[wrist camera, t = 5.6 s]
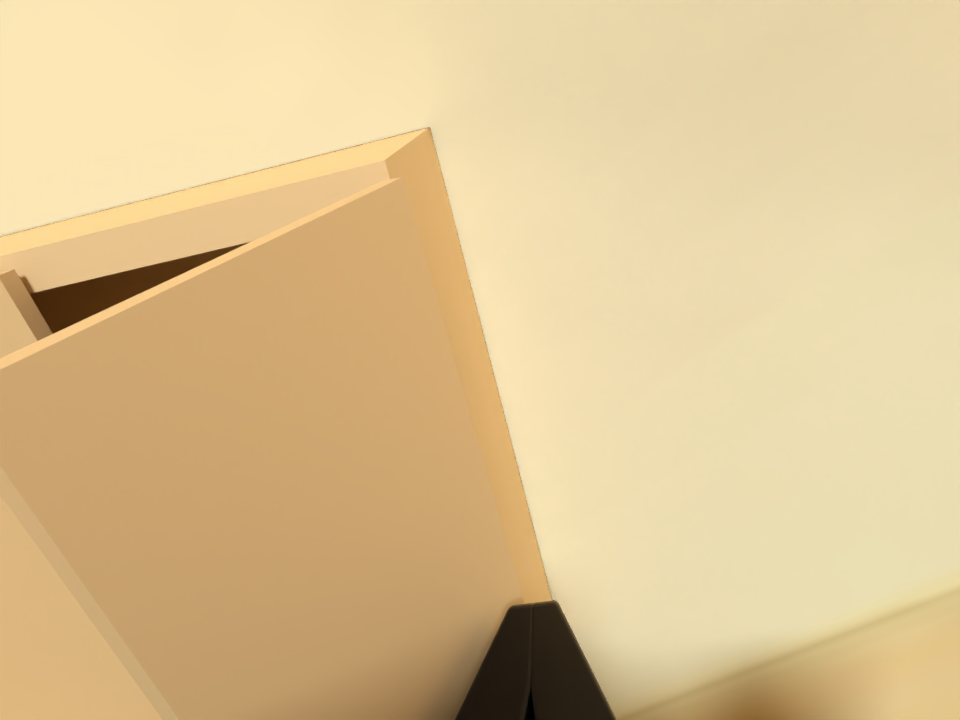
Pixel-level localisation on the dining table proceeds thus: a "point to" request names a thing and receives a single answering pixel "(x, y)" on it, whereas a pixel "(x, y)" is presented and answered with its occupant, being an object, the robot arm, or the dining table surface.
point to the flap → (270, 479)
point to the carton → (154, 260)
